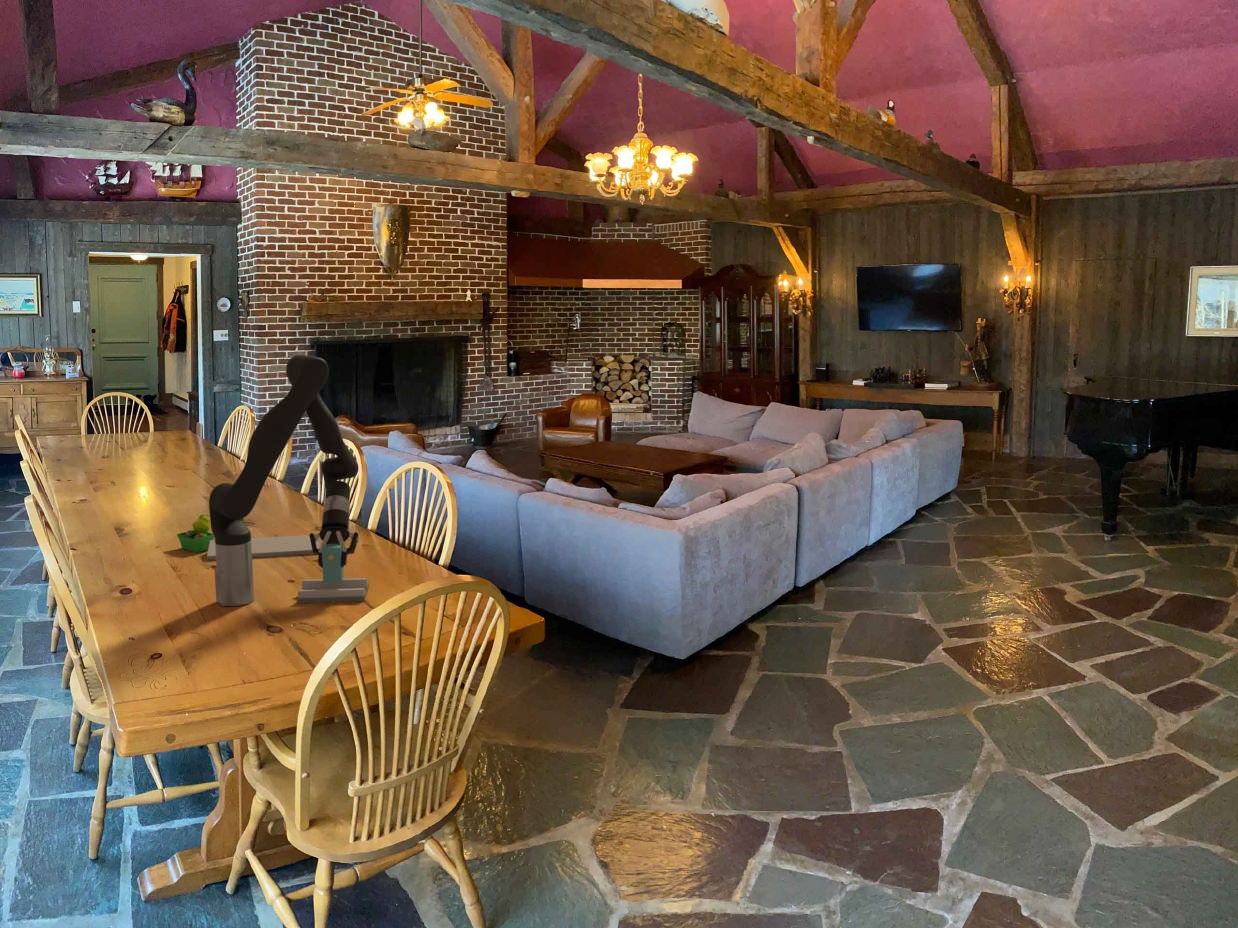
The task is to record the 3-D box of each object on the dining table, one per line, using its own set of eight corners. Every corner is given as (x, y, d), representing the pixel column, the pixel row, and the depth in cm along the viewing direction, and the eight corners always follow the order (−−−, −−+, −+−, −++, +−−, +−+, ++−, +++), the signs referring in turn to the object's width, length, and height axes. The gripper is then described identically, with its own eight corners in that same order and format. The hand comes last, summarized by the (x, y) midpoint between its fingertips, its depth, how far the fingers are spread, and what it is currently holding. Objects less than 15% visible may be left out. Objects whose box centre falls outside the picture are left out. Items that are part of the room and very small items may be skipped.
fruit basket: (176, 548, 315) (174, 515, 313) (200, 543, 322) (199, 511, 320) (195, 554, 308) (193, 520, 306) (220, 548, 315) (218, 516, 313)
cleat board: (297, 603, 262) (297, 589, 261) (305, 589, 275) (304, 575, 274) (364, 601, 265) (363, 587, 264) (368, 587, 278) (368, 574, 277)
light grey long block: (319, 561, 313) (319, 546, 322) (319, 549, 311) (318, 534, 320) (208, 568, 303) (211, 552, 312) (207, 555, 301) (210, 540, 310)
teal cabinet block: (322, 583, 264) (321, 549, 263) (325, 577, 270) (324, 544, 268) (341, 583, 265) (339, 548, 263) (343, 577, 271) (342, 543, 269)
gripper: (308, 508, 270) (303, 560, 261) (360, 507, 273) (356, 559, 263) (312, 521, 277) (307, 573, 267) (362, 520, 279) (359, 571, 269)
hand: (332, 565), depth 265 cm, fingers closed on teal cabinet block, 5 cm apart
